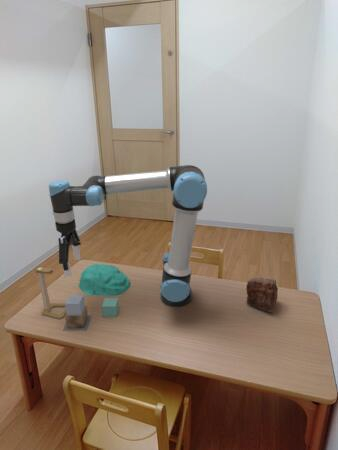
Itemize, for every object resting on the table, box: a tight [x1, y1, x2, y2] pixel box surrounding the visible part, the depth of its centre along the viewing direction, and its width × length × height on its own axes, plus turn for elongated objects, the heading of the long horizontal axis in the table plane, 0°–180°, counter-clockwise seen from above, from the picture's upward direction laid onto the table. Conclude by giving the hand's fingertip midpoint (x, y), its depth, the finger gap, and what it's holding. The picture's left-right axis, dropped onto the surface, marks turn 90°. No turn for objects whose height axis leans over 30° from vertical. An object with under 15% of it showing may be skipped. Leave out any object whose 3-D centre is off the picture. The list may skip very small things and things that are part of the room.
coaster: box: [62, 314, 93, 332], centre depth 143 cm, size 10×10×1 cm
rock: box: [245, 277, 279, 313], centre depth 147 cm, size 14×12×15 cm
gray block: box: [64, 294, 86, 316], centre depth 139 cm, size 6×6×6 cm
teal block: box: [101, 297, 120, 318], centre depth 148 cm, size 6×6×6 cm
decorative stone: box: [78, 263, 131, 297], centre depth 168 cm, size 21×27×10 cm
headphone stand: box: [35, 266, 66, 320], centre depth 146 cm, size 10×11×22 cm
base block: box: [64, 305, 89, 328], centre depth 142 cm, size 7×7×6 cm
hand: (73, 267), depth 139 cm, fingers open, 13 cm apart
